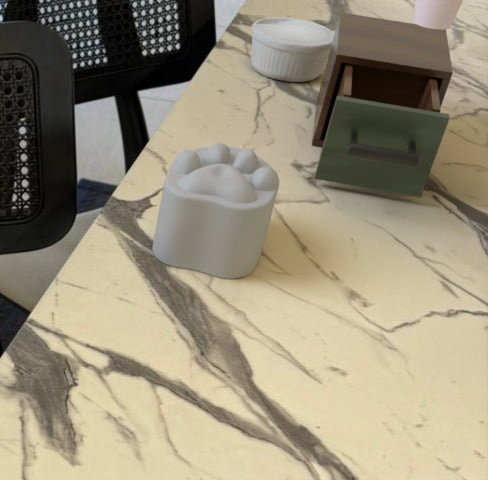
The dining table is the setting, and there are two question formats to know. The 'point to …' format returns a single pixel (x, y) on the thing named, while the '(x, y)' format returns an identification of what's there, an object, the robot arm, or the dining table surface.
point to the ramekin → (290, 48)
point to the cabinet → (381, 57)
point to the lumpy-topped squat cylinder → (215, 211)
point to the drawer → (382, 130)
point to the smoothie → (435, 13)
